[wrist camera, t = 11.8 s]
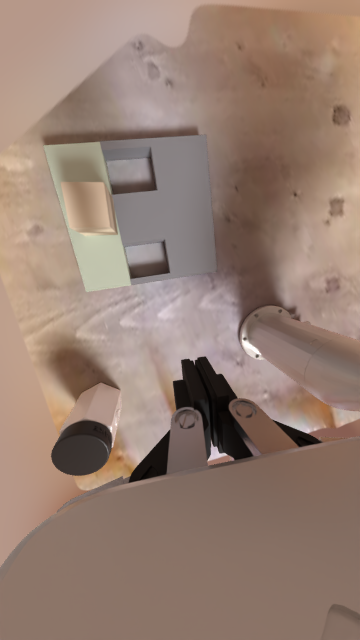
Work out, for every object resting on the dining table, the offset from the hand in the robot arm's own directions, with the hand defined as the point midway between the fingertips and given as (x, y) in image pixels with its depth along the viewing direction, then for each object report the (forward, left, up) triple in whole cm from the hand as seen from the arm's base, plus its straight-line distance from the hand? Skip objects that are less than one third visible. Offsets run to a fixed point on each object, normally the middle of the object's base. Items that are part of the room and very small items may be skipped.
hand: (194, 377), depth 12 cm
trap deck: (+1, -16, -24) cm, 29 cm away
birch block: (+8, -16, -21) cm, 28 cm away
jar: (+17, +17, -24) cm, 34 cm away
